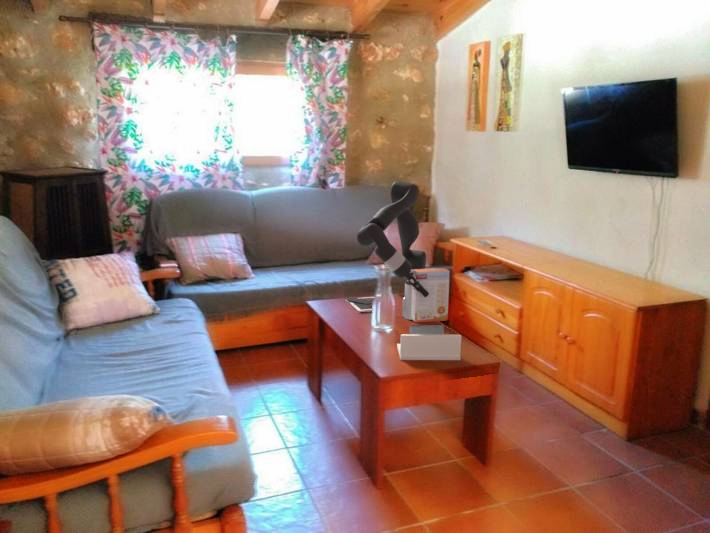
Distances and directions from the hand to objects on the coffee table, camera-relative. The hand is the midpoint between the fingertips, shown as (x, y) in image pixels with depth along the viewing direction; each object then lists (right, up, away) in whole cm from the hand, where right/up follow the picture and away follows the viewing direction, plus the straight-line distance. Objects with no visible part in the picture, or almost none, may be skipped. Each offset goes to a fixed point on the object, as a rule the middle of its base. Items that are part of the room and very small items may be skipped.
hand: (425, 292), depth 234 cm
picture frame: (-22, -11, +67) cm, 72 cm away
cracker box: (+2, -11, +3) cm, 12 cm away
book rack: (+2, -25, +6) cm, 26 cm away
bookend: (+1, -22, +11) cm, 25 cm away
